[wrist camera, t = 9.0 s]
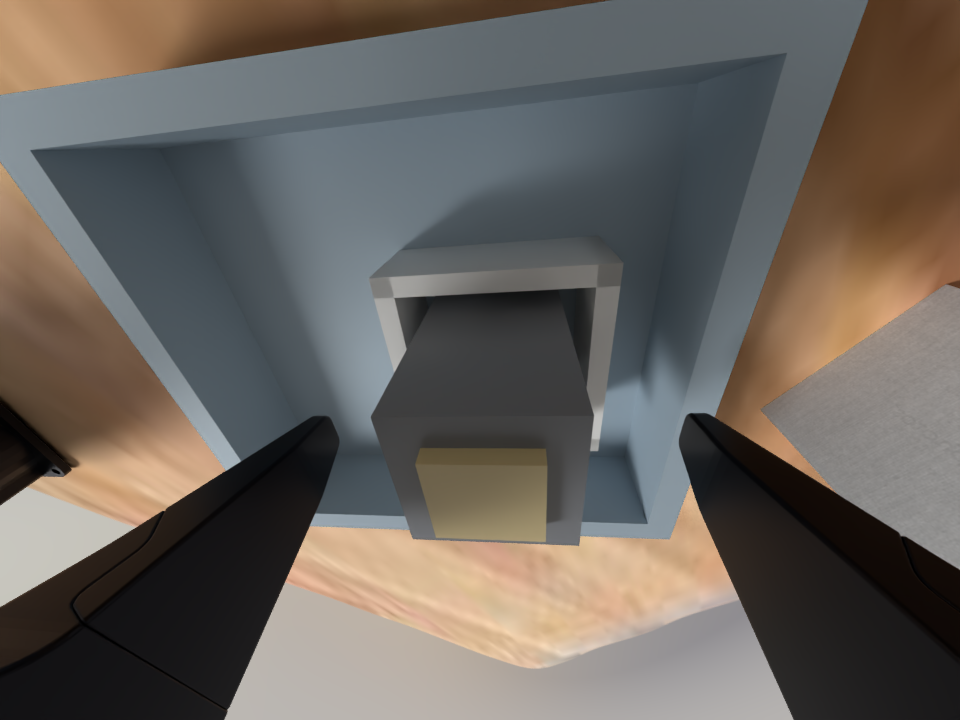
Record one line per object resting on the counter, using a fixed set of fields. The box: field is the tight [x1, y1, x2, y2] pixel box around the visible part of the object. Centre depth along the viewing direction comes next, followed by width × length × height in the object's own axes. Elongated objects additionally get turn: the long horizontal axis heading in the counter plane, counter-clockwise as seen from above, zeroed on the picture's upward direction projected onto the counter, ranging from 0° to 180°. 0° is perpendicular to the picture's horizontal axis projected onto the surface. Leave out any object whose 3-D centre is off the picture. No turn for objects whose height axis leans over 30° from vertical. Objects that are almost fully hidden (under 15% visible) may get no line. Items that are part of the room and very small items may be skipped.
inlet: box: [368, 236, 624, 451], centre depth 12 cm, size 7×7×3 cm
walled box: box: [0, 0, 868, 539], centre depth 12 cm, size 16×18×4 cm
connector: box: [370, 289, 594, 546], centre depth 10 cm, size 4×4×7 cm
